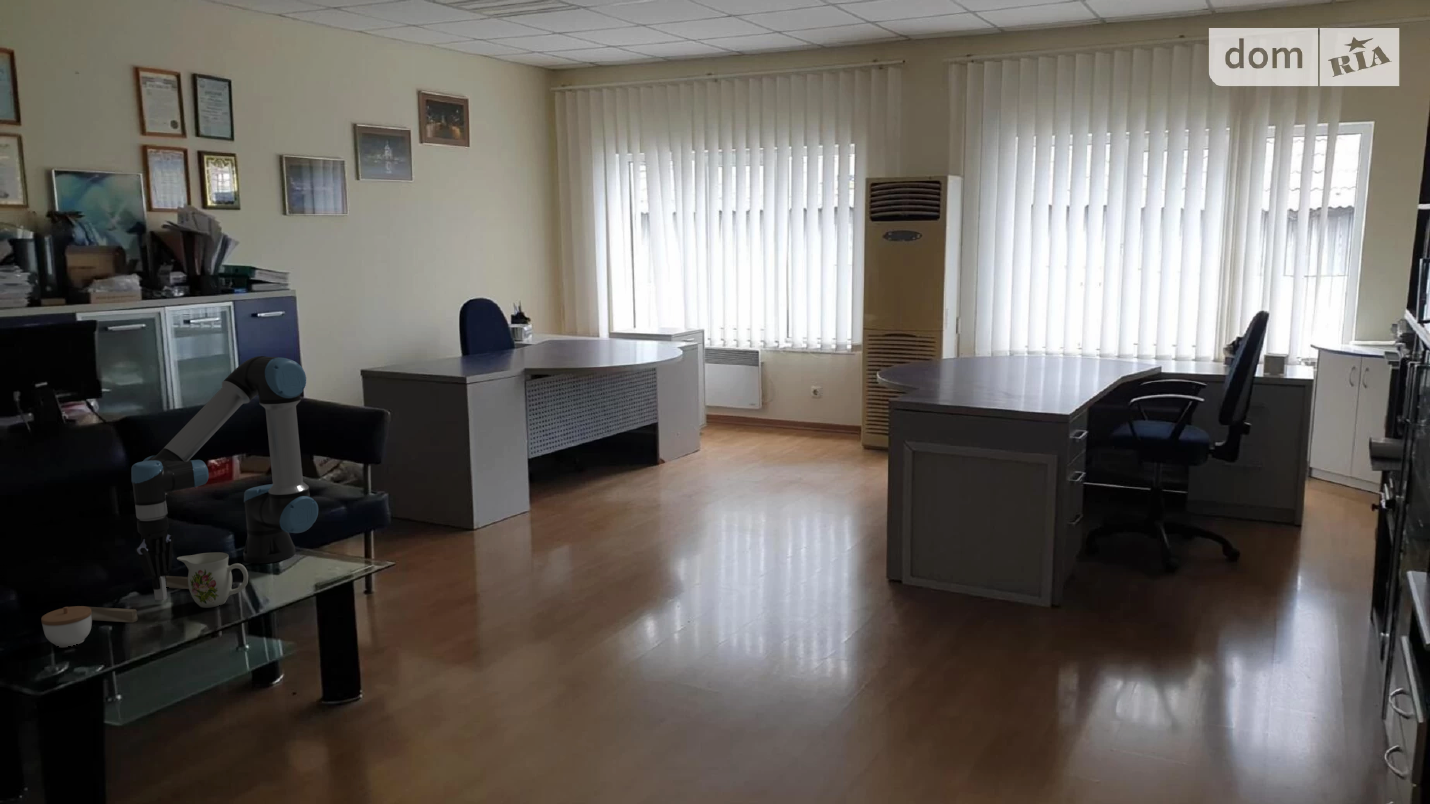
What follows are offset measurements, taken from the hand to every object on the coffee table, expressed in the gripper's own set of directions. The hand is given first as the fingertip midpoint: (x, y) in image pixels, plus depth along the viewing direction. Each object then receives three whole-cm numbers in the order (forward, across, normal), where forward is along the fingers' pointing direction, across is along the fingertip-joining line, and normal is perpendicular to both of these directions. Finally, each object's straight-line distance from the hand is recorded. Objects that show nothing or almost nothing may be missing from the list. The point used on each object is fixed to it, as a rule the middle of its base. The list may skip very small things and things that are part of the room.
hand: (161, 598), depth 282 cm
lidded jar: (+2, +28, -4) cm, 28 cm away
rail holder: (+1, 0, -5) cm, 5 cm away
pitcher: (+2, -2, +15) cm, 15 cm away
